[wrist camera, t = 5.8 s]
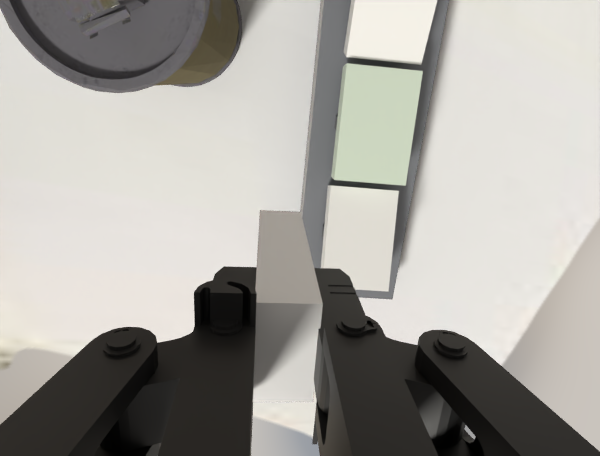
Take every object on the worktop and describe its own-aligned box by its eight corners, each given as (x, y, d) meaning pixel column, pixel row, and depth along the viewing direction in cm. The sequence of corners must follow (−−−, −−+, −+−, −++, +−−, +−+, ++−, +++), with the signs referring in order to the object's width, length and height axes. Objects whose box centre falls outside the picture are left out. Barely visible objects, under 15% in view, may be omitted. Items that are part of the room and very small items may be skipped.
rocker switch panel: (293, 277, 45) (295, 298, 41) (330, -100, 33) (337, -126, 29) (386, 283, 46) (397, 305, 41) (453, -84, 34) (478, -108, 30)
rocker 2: (319, 282, 39) (322, 287, 37) (327, 185, 38) (330, 185, 36) (382, 286, 39) (388, 291, 37) (392, 190, 38) (398, 191, 36)
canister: (260, 60, 37) (239, 41, 19) (156, 104, 38) (36, 129, 19) (207, -74, 34) (115, -266, 15) (94, -22, 35) (-128, -140, 16)
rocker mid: (331, 176, 36) (334, 179, 34) (342, 66, 34) (346, 63, 32) (398, 182, 36) (405, 185, 34) (414, 74, 34) (423, 71, 32)
